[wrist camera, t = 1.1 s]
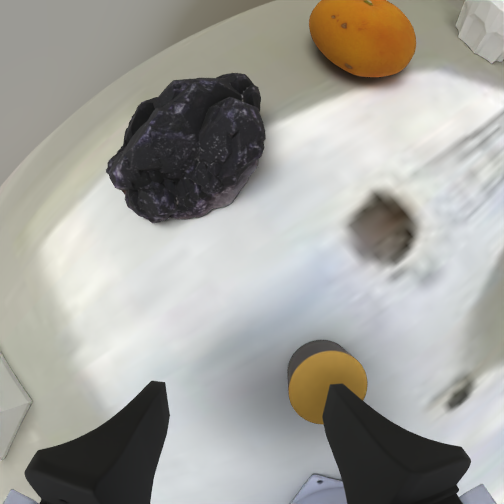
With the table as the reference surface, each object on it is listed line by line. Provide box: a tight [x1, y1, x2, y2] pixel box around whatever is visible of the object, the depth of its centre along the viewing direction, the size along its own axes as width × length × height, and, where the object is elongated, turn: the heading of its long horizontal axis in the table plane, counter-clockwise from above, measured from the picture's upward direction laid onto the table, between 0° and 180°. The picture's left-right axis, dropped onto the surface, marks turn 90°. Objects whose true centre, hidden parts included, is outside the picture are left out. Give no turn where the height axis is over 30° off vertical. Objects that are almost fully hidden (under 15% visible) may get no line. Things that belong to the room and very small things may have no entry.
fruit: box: [309, 0, 416, 77], centre depth 21 cm, size 10×10×8 cm
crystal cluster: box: [106, 73, 265, 223], centre depth 21 cm, size 13×14×10 cm
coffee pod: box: [288, 340, 367, 424], centre depth 19 cm, size 5×5×5 cm
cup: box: [455, 0, 504, 64], centre depth 20 cm, size 10×10×10 cm
